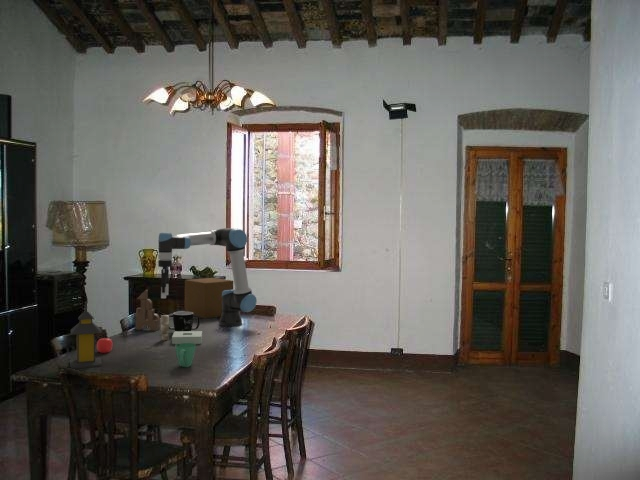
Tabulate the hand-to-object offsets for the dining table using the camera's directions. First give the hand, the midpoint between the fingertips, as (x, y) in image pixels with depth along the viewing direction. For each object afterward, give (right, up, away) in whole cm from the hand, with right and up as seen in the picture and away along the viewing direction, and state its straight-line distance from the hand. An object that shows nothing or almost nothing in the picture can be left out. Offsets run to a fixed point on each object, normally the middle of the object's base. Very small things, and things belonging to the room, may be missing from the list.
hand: (164, 296), depth 346 cm
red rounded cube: (-23, -26, -31) cm, 47 cm away
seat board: (+13, -25, -1) cm, 29 cm away
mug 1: (+5, -24, +23) cm, 34 cm away
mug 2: (+25, -28, -59) cm, 70 cm away
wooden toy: (-19, -24, +31) cm, 44 cm away
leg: (0, -25, +1) cm, 25 cm away
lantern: (-23, -27, -57) cm, 67 cm away
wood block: (+9, -22, +89) cm, 92 cm away
